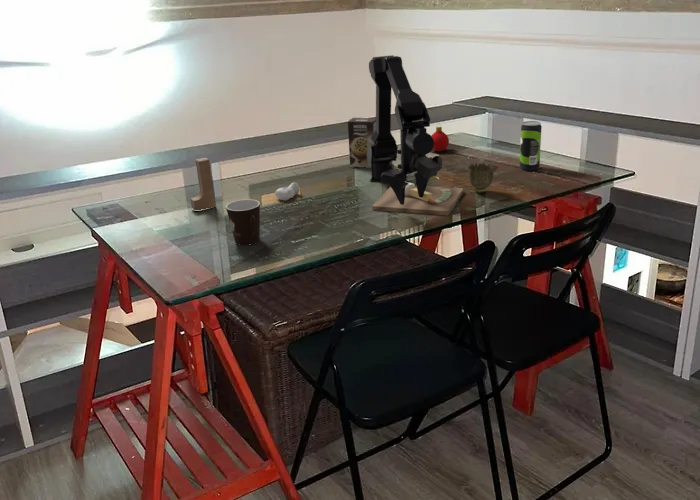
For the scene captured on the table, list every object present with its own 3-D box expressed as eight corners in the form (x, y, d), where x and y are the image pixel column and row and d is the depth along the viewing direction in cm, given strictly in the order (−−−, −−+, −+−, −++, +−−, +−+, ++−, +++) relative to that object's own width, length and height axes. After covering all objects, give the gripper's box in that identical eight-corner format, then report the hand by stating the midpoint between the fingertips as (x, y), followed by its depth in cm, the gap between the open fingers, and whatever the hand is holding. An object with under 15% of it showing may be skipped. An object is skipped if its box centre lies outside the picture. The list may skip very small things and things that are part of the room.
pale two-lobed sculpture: (282, 206, 202) (272, 198, 205) (303, 198, 207) (293, 191, 210) (283, 194, 200) (273, 186, 203) (304, 187, 204) (294, 179, 207)
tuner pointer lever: (396, 193, 199) (396, 182, 198) (408, 189, 201) (408, 179, 200) (427, 204, 188) (427, 194, 187) (439, 201, 190) (439, 190, 189)
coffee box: (349, 167, 231) (346, 121, 225) (354, 162, 237) (352, 117, 230) (375, 168, 228) (372, 121, 222) (379, 163, 234) (377, 117, 228)
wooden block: (212, 205, 203) (205, 157, 197) (216, 208, 201) (209, 159, 195) (191, 209, 200) (184, 161, 194) (195, 212, 198) (187, 163, 192)
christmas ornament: (428, 153, 241) (428, 126, 238) (429, 148, 248) (429, 121, 244) (448, 153, 240) (448, 125, 236) (449, 148, 247) (449, 121, 243)
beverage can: (541, 167, 219) (544, 121, 213) (535, 172, 214) (538, 125, 208) (523, 165, 222) (525, 120, 216) (516, 170, 217) (518, 124, 211)
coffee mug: (232, 236, 179) (227, 200, 175) (264, 233, 179) (260, 198, 175) (228, 253, 168) (223, 216, 164) (263, 250, 169) (258, 213, 165)
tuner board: (372, 210, 191) (371, 205, 190) (392, 188, 208) (392, 183, 207) (448, 215, 183) (448, 210, 183) (463, 192, 200) (463, 187, 200)
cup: (493, 196, 195) (494, 169, 192) (467, 196, 197) (467, 169, 194) (493, 188, 202) (494, 162, 199) (468, 188, 204) (468, 162, 200)
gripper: (410, 158, 171) (411, 215, 177) (456, 143, 183) (455, 198, 189) (379, 151, 178) (380, 207, 184) (424, 138, 190) (424, 190, 196)
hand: (411, 200), depth 188 cm, fingers open, 8 cm apart
